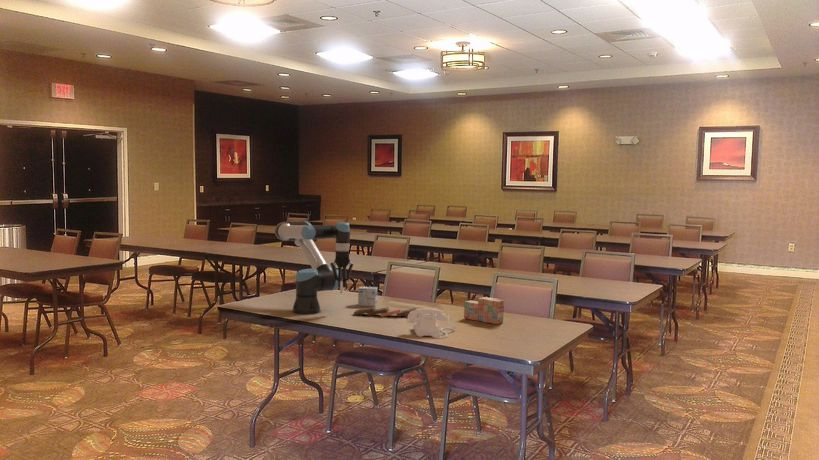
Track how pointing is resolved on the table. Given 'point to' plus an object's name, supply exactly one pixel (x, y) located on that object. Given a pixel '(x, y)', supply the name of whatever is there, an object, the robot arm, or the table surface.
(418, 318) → the telephone
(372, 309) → the walnut domino
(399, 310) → the terracotta domino
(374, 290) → the light bulb box
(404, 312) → the walnut domino
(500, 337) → the table surface
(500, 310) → the stack of blocks
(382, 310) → the walnut domino
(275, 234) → the robot arm
